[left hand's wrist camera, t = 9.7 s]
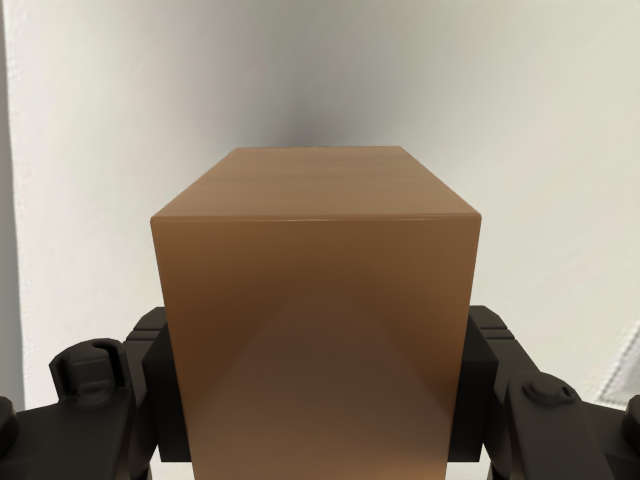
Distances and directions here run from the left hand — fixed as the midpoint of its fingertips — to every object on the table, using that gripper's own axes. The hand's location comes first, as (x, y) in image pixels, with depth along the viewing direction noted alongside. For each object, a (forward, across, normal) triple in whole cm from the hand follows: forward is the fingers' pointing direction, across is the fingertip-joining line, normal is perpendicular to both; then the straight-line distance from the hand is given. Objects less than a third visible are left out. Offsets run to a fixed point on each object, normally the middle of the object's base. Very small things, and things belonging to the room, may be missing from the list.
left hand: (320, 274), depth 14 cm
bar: (0, 0, -25) cm, 25 cm away
